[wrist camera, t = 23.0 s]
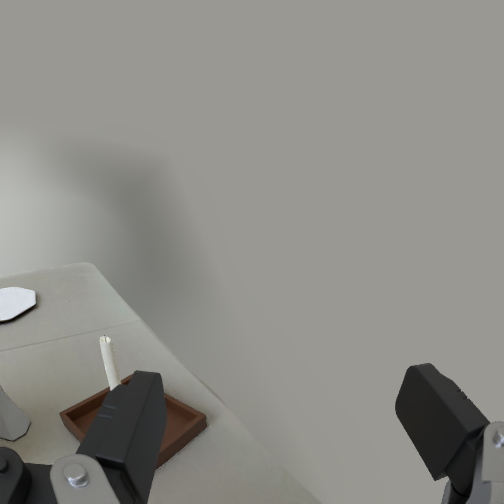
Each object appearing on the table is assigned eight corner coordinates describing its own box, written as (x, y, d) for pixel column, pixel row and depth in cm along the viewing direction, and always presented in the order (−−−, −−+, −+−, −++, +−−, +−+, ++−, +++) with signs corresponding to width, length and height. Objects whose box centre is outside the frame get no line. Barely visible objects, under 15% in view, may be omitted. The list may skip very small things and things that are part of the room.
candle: (145, 415, 37) (128, 325, 34) (143, 440, 32) (121, 347, 29) (112, 414, 36) (90, 324, 33) (107, 438, 31) (78, 345, 28)
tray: (135, 385, 45) (133, 373, 44) (207, 426, 37) (206, 414, 37) (64, 425, 32) (58, 412, 31) (130, 489, 24) (124, 478, 24)
